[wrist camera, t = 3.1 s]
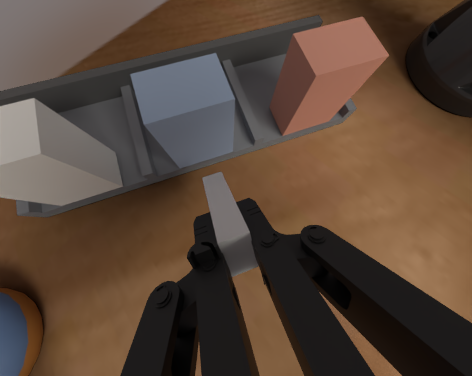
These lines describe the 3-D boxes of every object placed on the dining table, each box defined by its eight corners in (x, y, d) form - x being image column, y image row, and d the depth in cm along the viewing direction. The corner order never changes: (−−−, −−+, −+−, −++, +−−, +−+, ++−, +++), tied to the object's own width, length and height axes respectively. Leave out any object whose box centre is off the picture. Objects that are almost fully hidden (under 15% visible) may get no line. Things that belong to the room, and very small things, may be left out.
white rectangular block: (115, 152, 19) (34, 97, 11) (123, 186, 18) (40, 153, 10) (56, 169, 18) (-75, 124, 10) (61, 205, 17) (-77, 186, 9)
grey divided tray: (303, 52, 25) (318, 14, 21) (342, 122, 22) (369, 97, 18) (36, 122, 21) (-15, 94, 17) (47, 217, 19) (-9, 213, 14)
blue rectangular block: (221, 121, 20) (215, 52, 12) (232, 151, 19) (234, 98, 11) (170, 136, 19) (130, 74, 12) (179, 168, 19) (143, 124, 11)
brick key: (314, 94, 21) (362, 16, 14) (328, 121, 21) (389, 55, 13) (269, 107, 21) (292, 33, 13) (282, 136, 20) (316, 75, 12)
